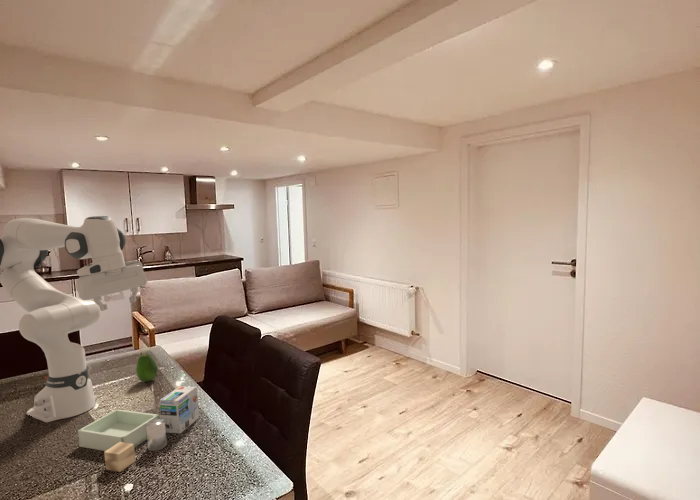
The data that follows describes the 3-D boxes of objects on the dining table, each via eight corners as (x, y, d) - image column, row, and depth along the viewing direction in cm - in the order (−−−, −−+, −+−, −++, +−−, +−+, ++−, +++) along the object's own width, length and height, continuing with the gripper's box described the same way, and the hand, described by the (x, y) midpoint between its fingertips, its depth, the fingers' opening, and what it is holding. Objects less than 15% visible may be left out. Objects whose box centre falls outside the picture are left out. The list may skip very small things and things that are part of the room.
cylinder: (144, 449, 117) (141, 426, 116) (157, 440, 121) (155, 418, 121) (157, 452, 115) (155, 428, 114) (170, 442, 120) (168, 420, 119)
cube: (106, 469, 108) (104, 451, 108) (121, 458, 113) (119, 441, 112) (120, 472, 107) (118, 454, 106) (135, 461, 111) (133, 444, 111)
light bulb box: (180, 434, 124) (177, 400, 123) (161, 433, 126) (158, 400, 125) (200, 417, 135) (197, 386, 134) (182, 416, 136) (179, 385, 135)
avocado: (133, 384, 166) (130, 355, 165) (149, 376, 173) (146, 349, 172) (147, 386, 163) (144, 357, 162) (162, 378, 170) (160, 351, 169)
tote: (79, 446, 120) (77, 430, 120) (118, 423, 133) (116, 409, 133) (124, 454, 115) (123, 437, 114) (160, 429, 128) (159, 414, 127)
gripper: (136, 259, 140) (144, 297, 142) (70, 272, 124) (81, 315, 125) (145, 258, 137) (154, 297, 138) (79, 270, 120) (90, 315, 121)
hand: (119, 306), depth 131 cm, fingers open, 8 cm apart
